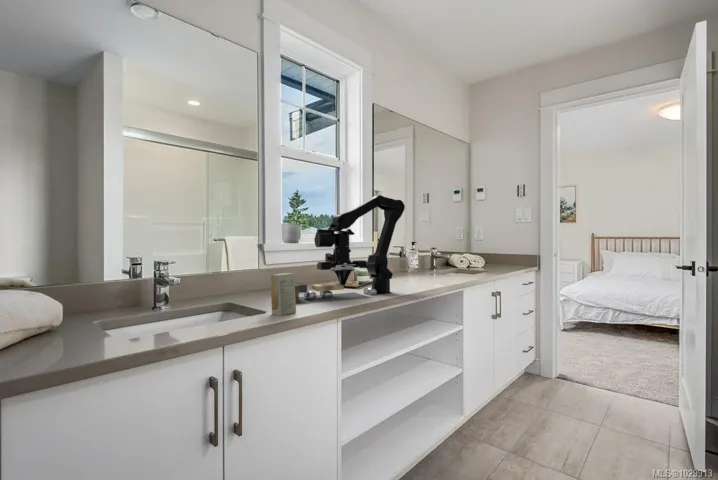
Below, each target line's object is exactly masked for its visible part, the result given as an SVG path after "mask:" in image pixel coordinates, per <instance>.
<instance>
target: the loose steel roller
mask: <svg viewBox="0 0 718 480" xmlns="http://www.w3.org/2000/svg"><path fill="white" fill-rule="evenodd" d="M316 295H317V293H315V291H311V290H308V289H307V292H304V293H303V297H305V298H307V299H309V300H315V299H316Z"/></svg>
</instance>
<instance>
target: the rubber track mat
mask: <svg viewBox="0 0 718 480" xmlns="http://www.w3.org/2000/svg"><path fill="white" fill-rule="evenodd" d="M368 298H369V299H370V298H371V299H372V297H371V296H370V295H366V294H361V293H358V292H352V291H351V292H342V293H333V296H332V298H331V299H327V298H324V297H322V296H321V295H320V294H319V295H317V294H316V299H315V300H309V299H307V298H305V297H304V296H299V303H296V306H297V305H304V304H305V305H307V304H315V303H318V304H319V303H325V302H326V303H328V302H329V303H330V302H339V301H348V300H360V299H361V300H362V299H368Z"/></svg>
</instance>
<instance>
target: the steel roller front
mask: <svg viewBox="0 0 718 480" xmlns="http://www.w3.org/2000/svg"><path fill="white" fill-rule="evenodd" d="M333 294H334V293H333V292H332V290H330V291H319V295H321V296H322V297H324V298H327V299H331V298H332V296H333Z"/></svg>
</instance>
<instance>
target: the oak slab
mask: <svg viewBox="0 0 718 480" xmlns="http://www.w3.org/2000/svg"><path fill="white" fill-rule="evenodd" d="M311 290H314V291H315V292H320V291H339V290H345V286H344V285H342V284H340V283H339V282H338V283H335V282H332V283H320V284H319V283H318V284H311Z"/></svg>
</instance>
